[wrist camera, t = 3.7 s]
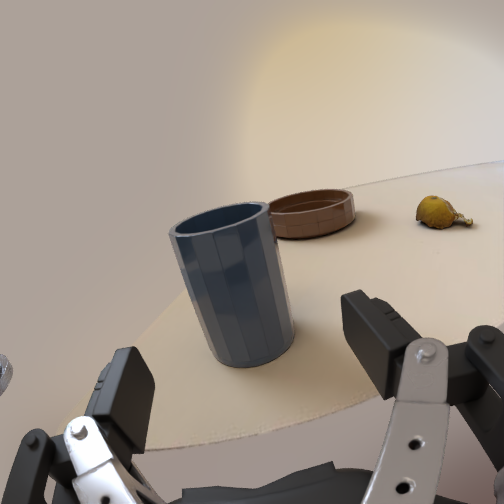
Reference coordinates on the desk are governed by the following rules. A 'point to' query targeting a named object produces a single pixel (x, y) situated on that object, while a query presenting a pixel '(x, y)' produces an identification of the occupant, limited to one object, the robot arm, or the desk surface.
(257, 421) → the desk surface
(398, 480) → the robot arm
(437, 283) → the desk surface
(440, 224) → the fruit
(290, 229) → the bowl
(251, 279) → the cup
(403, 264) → the desk surface
